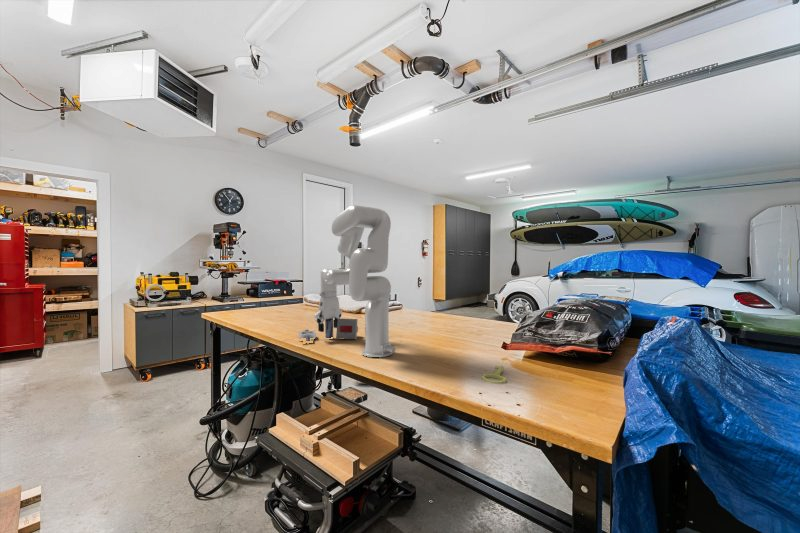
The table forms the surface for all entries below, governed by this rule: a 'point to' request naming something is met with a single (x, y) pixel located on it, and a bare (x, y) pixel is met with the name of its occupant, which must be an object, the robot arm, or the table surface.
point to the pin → (329, 328)
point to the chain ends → (307, 335)
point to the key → (495, 376)
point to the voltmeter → (347, 328)
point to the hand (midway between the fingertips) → (328, 329)
